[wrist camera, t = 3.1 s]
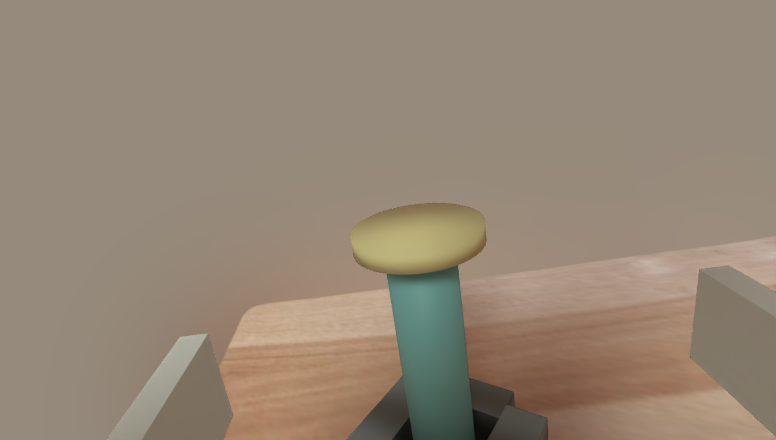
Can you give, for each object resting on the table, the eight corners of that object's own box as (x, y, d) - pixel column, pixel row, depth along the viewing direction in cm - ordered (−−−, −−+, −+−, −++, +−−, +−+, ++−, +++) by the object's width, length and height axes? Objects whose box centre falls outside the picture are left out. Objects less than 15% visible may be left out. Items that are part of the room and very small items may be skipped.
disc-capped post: (428, 419, 38) (397, 199, 32) (519, 455, 34) (505, 207, 27) (374, 494, 32) (322, 243, 26) (476, 550, 28) (444, 262, 21)
